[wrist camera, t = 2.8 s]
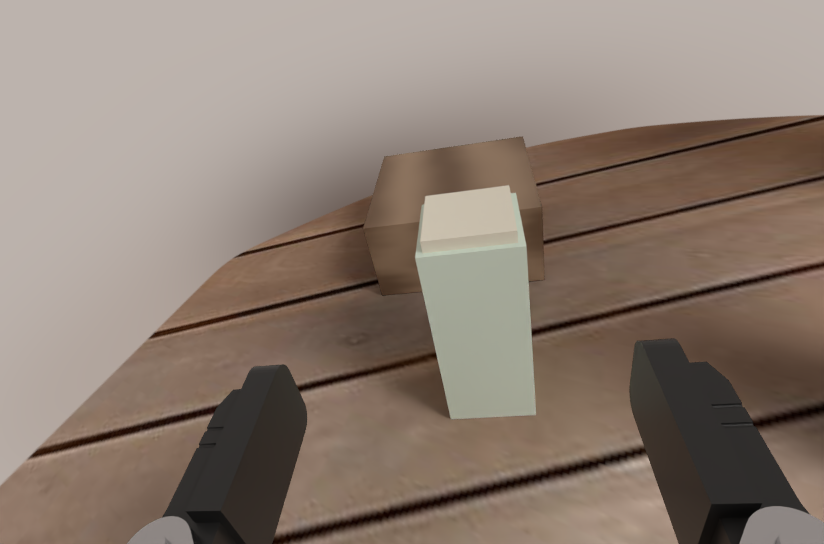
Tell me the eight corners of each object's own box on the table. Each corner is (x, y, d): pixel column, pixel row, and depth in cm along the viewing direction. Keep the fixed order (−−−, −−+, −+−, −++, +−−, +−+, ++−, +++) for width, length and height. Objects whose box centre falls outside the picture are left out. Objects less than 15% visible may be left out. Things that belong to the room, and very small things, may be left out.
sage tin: (526, 352, 30) (515, 181, 23) (536, 415, 26) (525, 233, 19) (451, 357, 31) (419, 193, 24) (451, 419, 27) (412, 246, 20)
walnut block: (526, 199, 44) (522, 136, 41) (544, 279, 35) (542, 206, 31) (397, 215, 46) (384, 156, 43) (382, 295, 37) (363, 228, 33)
